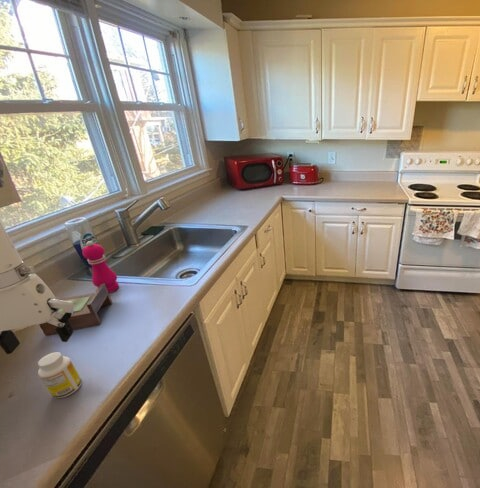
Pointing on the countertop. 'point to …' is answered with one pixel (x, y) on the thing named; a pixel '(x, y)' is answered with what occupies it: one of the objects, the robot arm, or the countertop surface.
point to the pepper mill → (100, 267)
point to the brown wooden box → (83, 310)
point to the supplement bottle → (59, 375)
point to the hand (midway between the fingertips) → (41, 343)
